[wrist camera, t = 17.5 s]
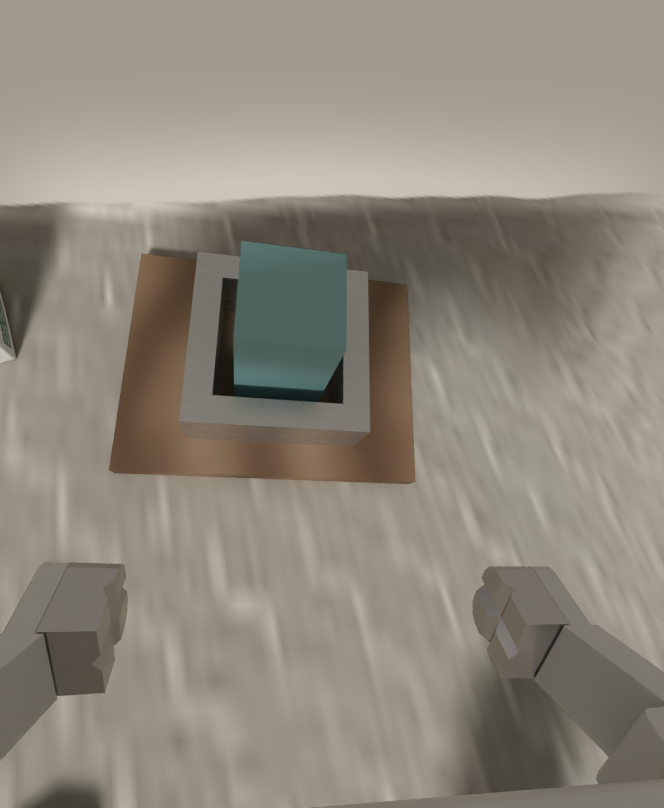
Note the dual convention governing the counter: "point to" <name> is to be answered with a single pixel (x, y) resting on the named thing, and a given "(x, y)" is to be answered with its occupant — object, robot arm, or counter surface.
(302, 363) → the teal peg
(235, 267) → the socket
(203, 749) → the counter surface
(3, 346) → the syrup box
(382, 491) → the counter surface
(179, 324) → the walnut board
